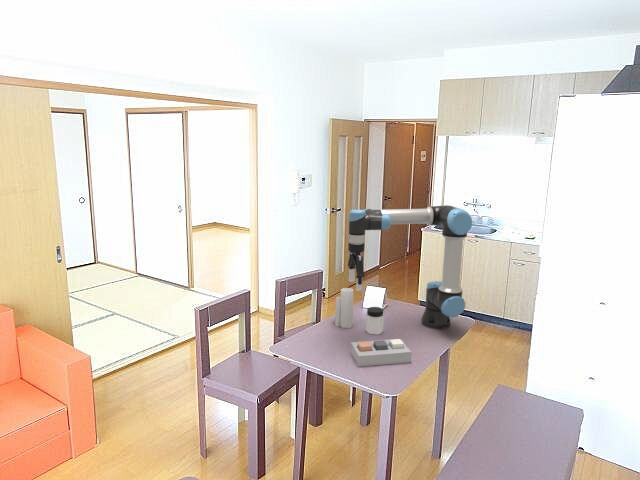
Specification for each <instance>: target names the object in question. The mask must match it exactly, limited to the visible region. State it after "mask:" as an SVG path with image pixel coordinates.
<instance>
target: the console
mask: <svg viewBox="0 0 640 480" xmlns="http://www.w3.org/2000/svg"><path fill="white" fill-rule="evenodd" d="M395 339H396V338H391V339H383V340H384V341H385V342H386V343H387V345H388V350H376V349H375V348H374V341H375V340H366V341H364V340H363V342H368V341H369V343H370V344H371V346H372V351H364V352H360V351H359V349H358V342H359V341H355V342H354V341H352V342H350V354H351V356H352V358H353V359H354V361H355V363H356V364H357V366H358V367H359V368H361V367H369V366H370V367H371V366H382V365H393V364H394V365H395V364H406V363H407V364H408V363H412V351H411V349H410V348H409V347H408V346H407V345H406V344H405V343H404V341H403V340H402V339H401V338H399V339H400V340H401V341H402V342H403V343H404V348H402V349H392V348H391V347H390V346H389V340H395ZM381 340H382V339H379V340H378V339H376V341H381Z"/></svg>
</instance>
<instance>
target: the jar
mask: <svg viewBox="0 0 640 480" xmlns="http://www.w3.org/2000/svg"><path fill="white" fill-rule="evenodd" d="M365 317H366V318H365V331H366V332H367V334H370V335H375V336H376V335H377V336H378V335H380V334H382V333H383V332H384V325H385V321H384V320H385V314H384V309H383V308H382V307H378V306H370V307H368V308H367V309H366V314H365Z"/></svg>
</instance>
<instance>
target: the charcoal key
mask: <svg viewBox="0 0 640 480" xmlns="http://www.w3.org/2000/svg"><path fill="white" fill-rule="evenodd" d="M380 340H381V341H377V340H373V341H374V348H375V349H376V350H388V345H387V343H386V342H385V341H384V340H385V339H380Z"/></svg>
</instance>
